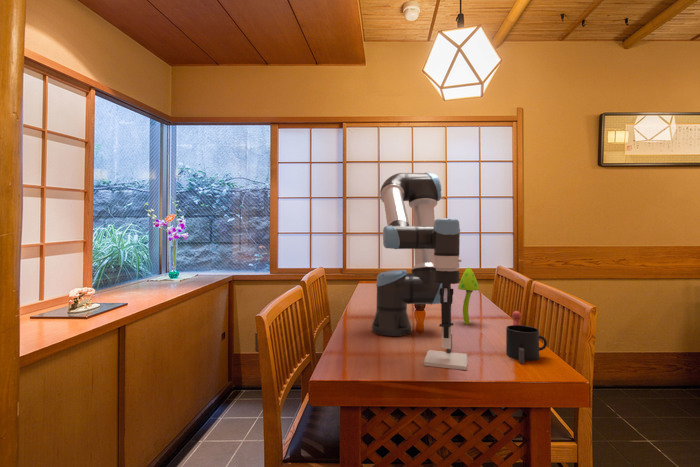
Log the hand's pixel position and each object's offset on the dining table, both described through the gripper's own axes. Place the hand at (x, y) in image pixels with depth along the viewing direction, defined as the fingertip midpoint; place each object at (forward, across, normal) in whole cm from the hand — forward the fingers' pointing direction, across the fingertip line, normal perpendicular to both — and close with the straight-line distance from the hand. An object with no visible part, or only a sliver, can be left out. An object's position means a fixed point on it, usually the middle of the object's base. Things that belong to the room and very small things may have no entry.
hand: (446, 347), depth 113 cm
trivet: (+4, 0, 0) cm, 4 cm away
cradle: (+4, +11, -11) cm, 16 cm away
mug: (+5, +13, -24) cm, 28 cm away
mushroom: (+4, +46, -6) cm, 47 cm away
